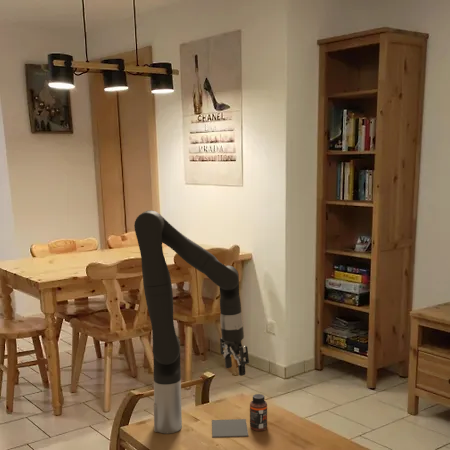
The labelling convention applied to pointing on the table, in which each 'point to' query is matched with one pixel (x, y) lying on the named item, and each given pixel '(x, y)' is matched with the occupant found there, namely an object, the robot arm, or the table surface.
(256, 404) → the supplement bottle
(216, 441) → the table surface
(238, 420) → the mat
